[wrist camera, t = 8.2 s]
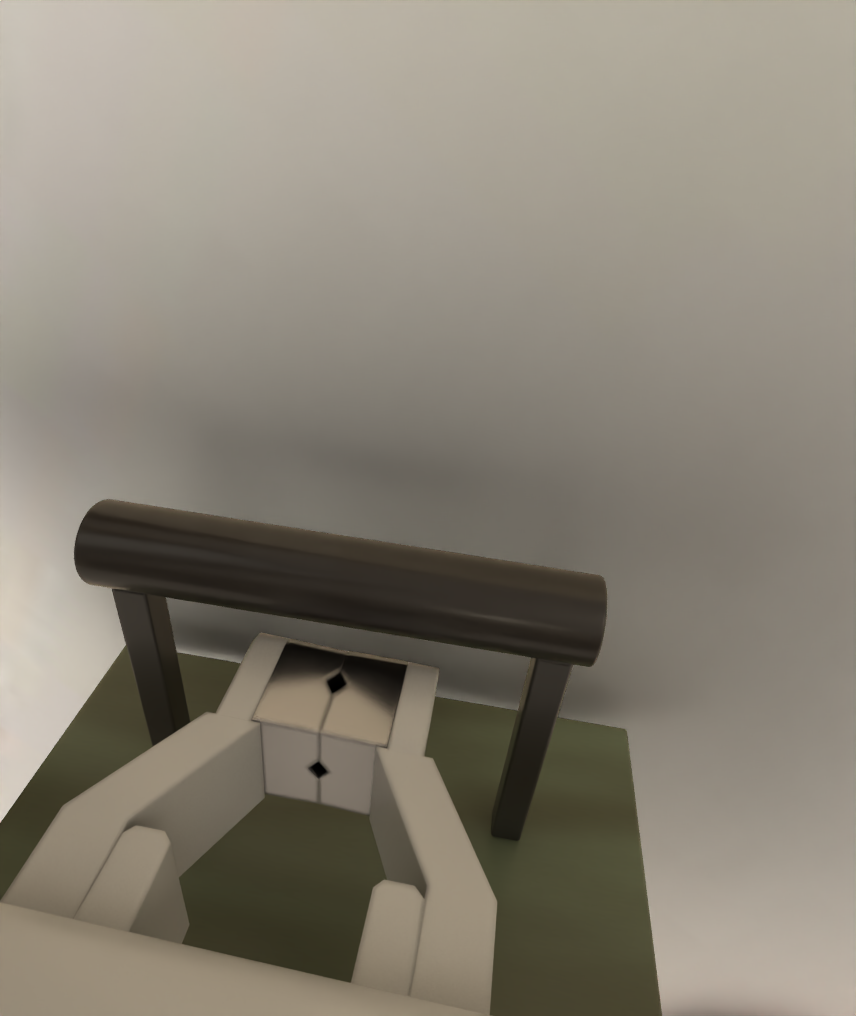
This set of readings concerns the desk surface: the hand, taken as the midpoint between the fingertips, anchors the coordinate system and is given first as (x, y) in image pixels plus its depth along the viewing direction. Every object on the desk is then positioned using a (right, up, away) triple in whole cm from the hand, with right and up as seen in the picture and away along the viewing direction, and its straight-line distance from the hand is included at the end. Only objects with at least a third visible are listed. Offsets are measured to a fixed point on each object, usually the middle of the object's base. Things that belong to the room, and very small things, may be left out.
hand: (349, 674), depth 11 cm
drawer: (0, -5, +8) cm, 9 cm away
